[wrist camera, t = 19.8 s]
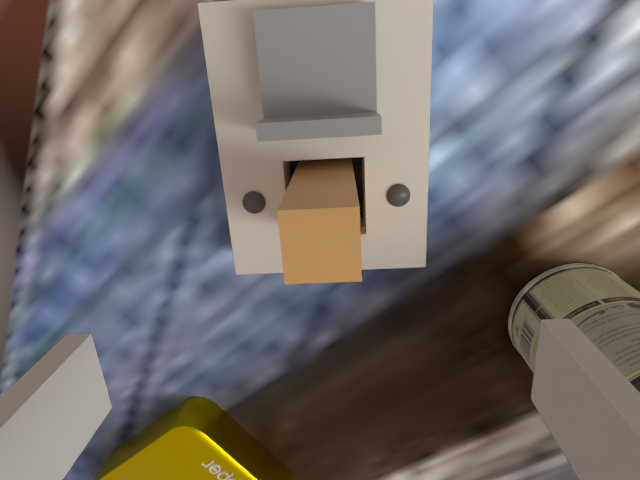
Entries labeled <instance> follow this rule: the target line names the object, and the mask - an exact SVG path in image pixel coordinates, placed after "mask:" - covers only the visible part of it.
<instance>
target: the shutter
mask: <svg viewBox="0 0 640 480" xmlns="http://www.w3.org/2000/svg"><path fill="white" fill-rule="evenodd" d="M253 18H254V28H255V38H256V48H257V57H258V67H259V77H260V86H261V96H262V106H263V116H264V119H262V120H261V121H259V122H257V123H256V124H255V125H256V134H257V142H262V141H280V140H297V139H315V138H332V137H350V136H367V135H382V121H381V115H380V114H379V113H378V112H377V94H376V23H375V2H363V3H350V4H336V5H323V6H309V7H296V8H282V9H269V10H255V11H253Z"/></svg>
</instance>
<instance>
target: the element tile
mask: <svg viewBox="0 0 640 480" xmlns="http://www.w3.org/2000/svg"><path fill="white" fill-rule="evenodd" d="M293 479H294V478H293V476H292V474H291V472H290V471H289V470H288V469H287V468H286V467H285V466H284V465H283V464H282V463H281V462H280V461H278V460H277V459H276V458H275V457H274V456H273V455H272V454H271V453H270V452H268V451H267V450H266V449H265V448H264V447H263V446H262V445H261V444H260V443H259V442H257V441H256V440H255V439H254V438H253V437H252V436H251V435H250V434H249V433H248V432H246V431H245V430H244V429H243V428H242V427H241V426H240V425H239V424H238V423H236V422H235V421H234V420H233V419H232V418H231V417H230V416H229V415H228V414H227V413H225V412H224V411H223V410H222V409H221V408H220V407H219V406H218V405H217V404H215V403H214V402H212V401H211V400H209V399H206V398H204V397H192V398H188V399H186V400H184V401H183V402H181V403H180V404H179V405H177V406H176V407H174V408H173V409H172V410H170V411H169V412H167V413H166V414H165V415H163V416H162V417H160V418H159V419H158V420H156V421H155V422H153V423H152V424H151V425H149V426H148V427H146V428H145V429H144V430H142V431H141V432H139V433H138V434H137V435H135V436H134V437H132V438H131V439H130V440H128V441H127V442H125V443H124V444H123V445H121V446H120V447H118V448H117V449H116V450H114V451H113V452H111V454H110V455H109V457H108V458H107V460H106V462H105V463H104V465H103V467H102V468H101V470H100V472H99V473H98V475H97V477H96V478H95V480H293Z"/></svg>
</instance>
